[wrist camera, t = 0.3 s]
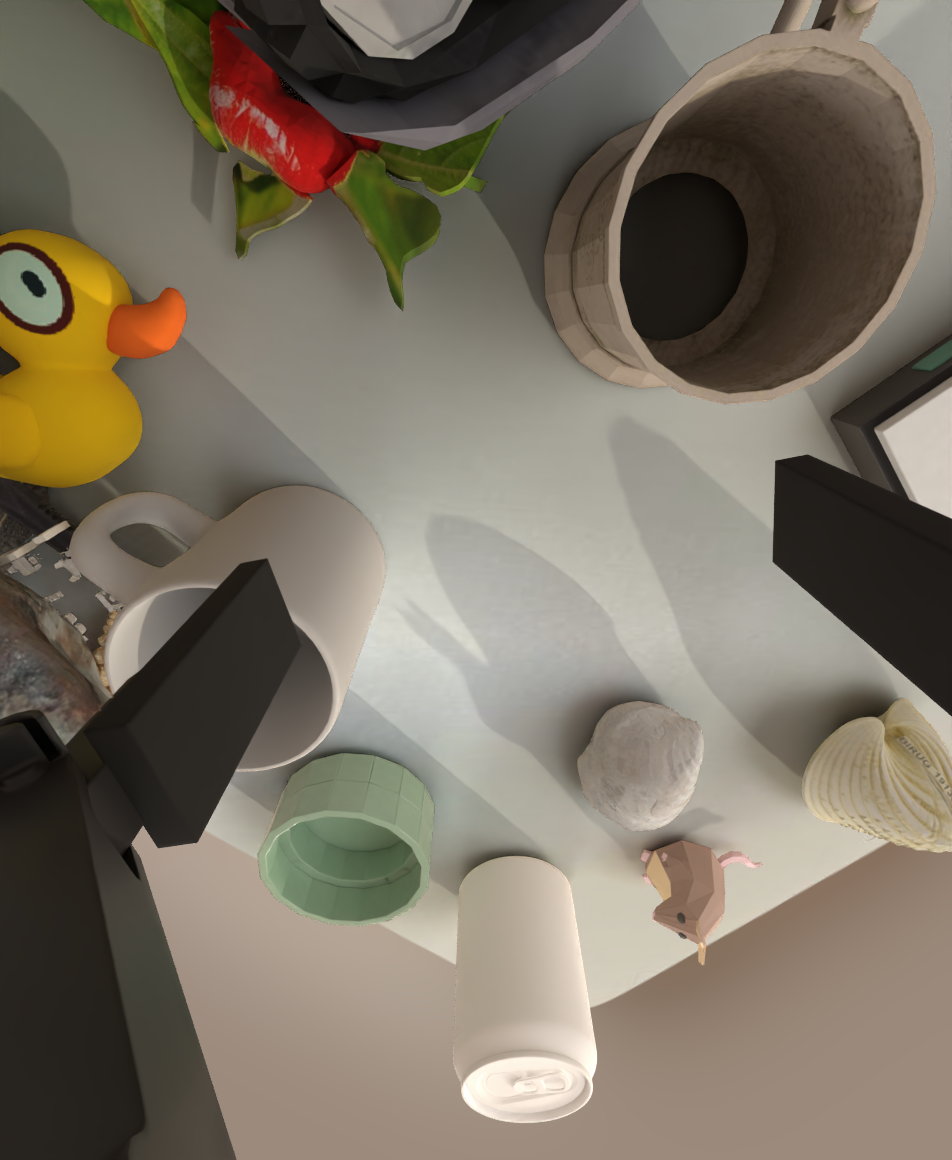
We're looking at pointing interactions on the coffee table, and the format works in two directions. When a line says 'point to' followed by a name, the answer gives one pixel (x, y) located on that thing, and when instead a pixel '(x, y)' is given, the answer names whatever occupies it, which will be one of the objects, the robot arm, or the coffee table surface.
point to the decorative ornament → (294, 136)
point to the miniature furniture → (27, 569)
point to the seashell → (885, 779)
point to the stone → (45, 662)
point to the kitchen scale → (906, 431)
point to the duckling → (71, 359)
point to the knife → (33, 513)
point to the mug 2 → (761, 211)
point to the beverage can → (521, 994)
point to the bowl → (349, 841)
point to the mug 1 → (252, 532)
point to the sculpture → (17, 527)
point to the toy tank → (421, 57)
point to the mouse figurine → (690, 888)
